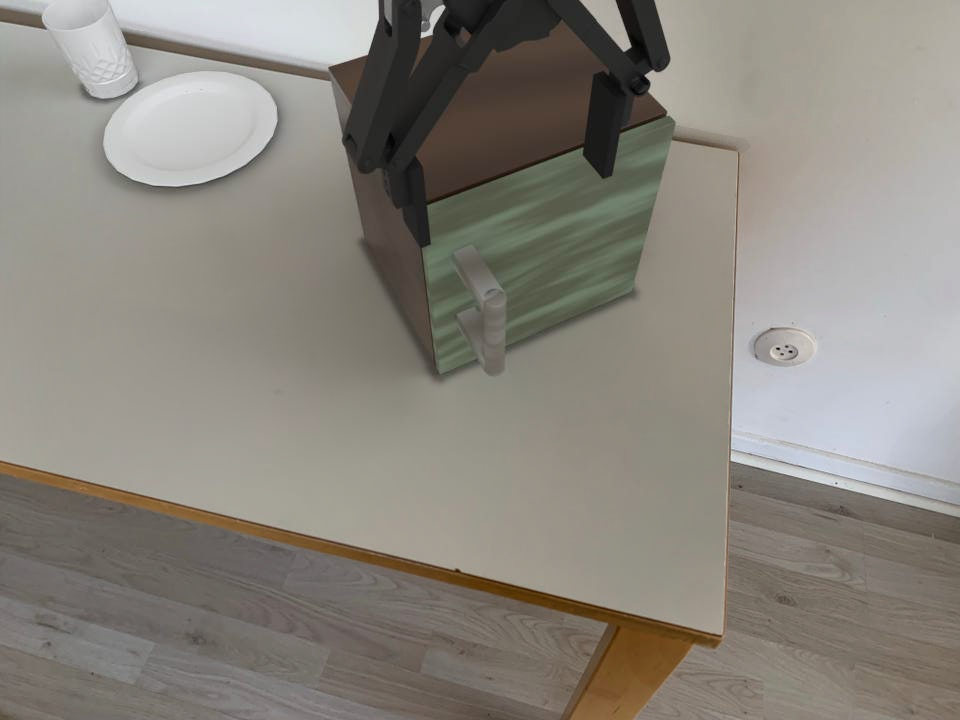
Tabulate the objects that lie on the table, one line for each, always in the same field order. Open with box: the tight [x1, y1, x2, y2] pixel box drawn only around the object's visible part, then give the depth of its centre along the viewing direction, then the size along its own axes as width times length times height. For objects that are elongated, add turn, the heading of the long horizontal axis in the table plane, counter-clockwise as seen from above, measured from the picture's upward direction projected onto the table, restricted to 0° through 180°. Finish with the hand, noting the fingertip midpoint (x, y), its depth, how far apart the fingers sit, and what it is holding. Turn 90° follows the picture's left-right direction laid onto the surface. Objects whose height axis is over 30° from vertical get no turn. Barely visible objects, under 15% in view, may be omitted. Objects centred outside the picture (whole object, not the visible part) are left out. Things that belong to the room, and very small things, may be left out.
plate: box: [102, 70, 279, 189], centre depth 89 cm, size 21×21×2 cm
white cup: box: [41, 0, 139, 100], centre depth 91 cm, size 8×8×10 cm
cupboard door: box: [422, 115, 677, 377], centre depth 63 cm, size 7×22×22 cm, turn 117°
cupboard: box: [327, 20, 668, 367], centre depth 69 cm, size 18×22×22 cm
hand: (510, 198), depth 49 cm, fingers open, 13 cm apart
